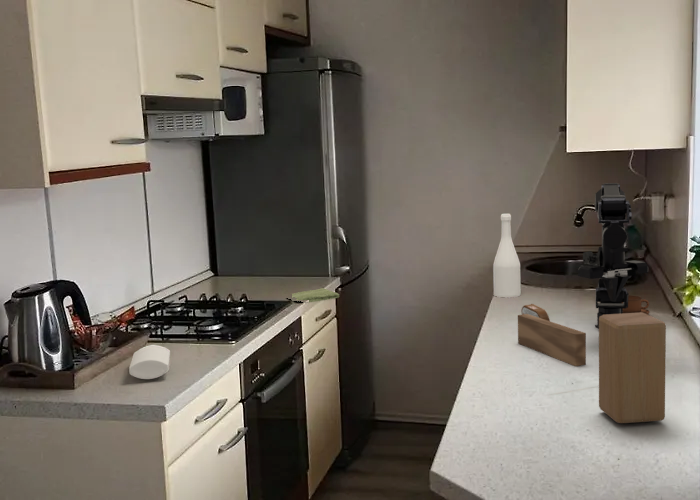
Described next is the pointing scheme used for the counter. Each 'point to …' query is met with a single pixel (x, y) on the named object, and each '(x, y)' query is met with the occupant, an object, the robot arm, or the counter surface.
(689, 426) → the counter surface
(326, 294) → the washcloth
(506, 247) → the wine bottle
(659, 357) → the wooden block
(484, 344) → the counter surface
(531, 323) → the walnut board
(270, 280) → the counter surface
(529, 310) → the tin
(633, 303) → the cup and saucer
